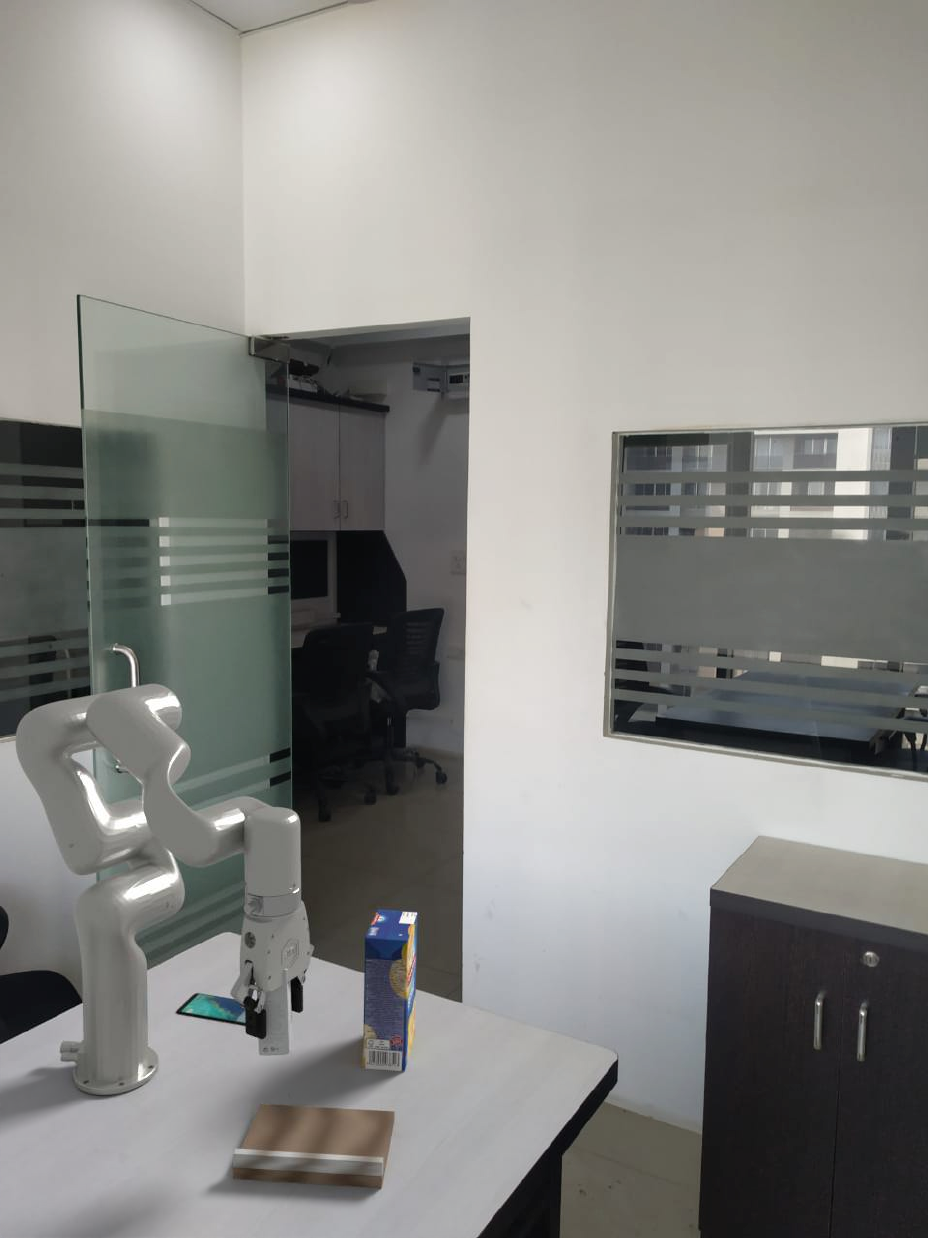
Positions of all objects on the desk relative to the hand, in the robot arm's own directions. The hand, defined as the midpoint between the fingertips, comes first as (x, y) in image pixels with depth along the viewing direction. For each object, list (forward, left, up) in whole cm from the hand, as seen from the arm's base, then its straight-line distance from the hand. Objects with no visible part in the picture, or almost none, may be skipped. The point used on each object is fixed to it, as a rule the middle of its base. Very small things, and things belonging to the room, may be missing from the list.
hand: (274, 1021), depth 133 cm
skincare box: (0, 0, -3) cm, 3 cm away
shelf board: (+6, 0, -18) cm, 19 cm away
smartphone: (-18, +35, -19) cm, 43 cm away
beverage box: (+13, +25, -19) cm, 34 cm away
